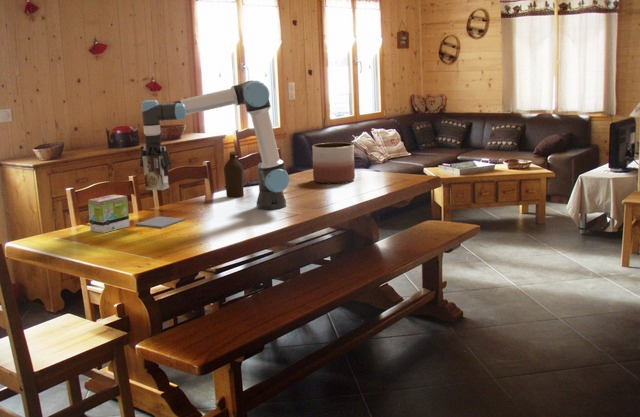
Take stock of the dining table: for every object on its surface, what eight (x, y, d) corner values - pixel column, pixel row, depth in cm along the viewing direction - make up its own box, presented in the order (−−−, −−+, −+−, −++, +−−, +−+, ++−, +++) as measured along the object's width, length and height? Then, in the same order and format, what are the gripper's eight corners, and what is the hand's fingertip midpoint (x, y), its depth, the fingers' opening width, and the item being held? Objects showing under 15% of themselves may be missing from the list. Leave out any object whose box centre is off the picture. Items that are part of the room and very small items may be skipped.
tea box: (105, 233, 303) (101, 201, 300) (90, 231, 308) (86, 199, 305) (130, 226, 315) (127, 195, 312) (115, 224, 320) (112, 193, 317)
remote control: (224, 188, 403) (224, 185, 403) (270, 181, 421) (270, 178, 420) (230, 190, 397) (230, 187, 397) (276, 183, 415) (276, 180, 414)
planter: (355, 183, 400) (354, 146, 395) (312, 185, 401) (311, 148, 396) (354, 176, 425) (353, 141, 420) (313, 178, 425) (312, 143, 421)
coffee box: (169, 187, 317) (166, 153, 314) (162, 190, 311) (159, 155, 308) (152, 187, 320) (149, 153, 316) (145, 189, 314) (141, 155, 311)
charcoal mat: (184, 220, 322) (184, 218, 322) (162, 228, 308) (161, 226, 308) (159, 217, 330) (158, 216, 329) (135, 225, 316) (135, 223, 316)
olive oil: (232, 199, 369) (229, 153, 363) (222, 196, 377) (218, 152, 371) (248, 196, 375) (245, 151, 370) (238, 193, 383) (235, 149, 378)
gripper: (176, 133, 308) (180, 182, 313) (140, 133, 318) (144, 179, 323) (165, 135, 302) (170, 185, 306) (128, 134, 312) (133, 182, 317)
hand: (156, 182), depth 315 cm, fingers closed on coffee box, 10 cm apart
